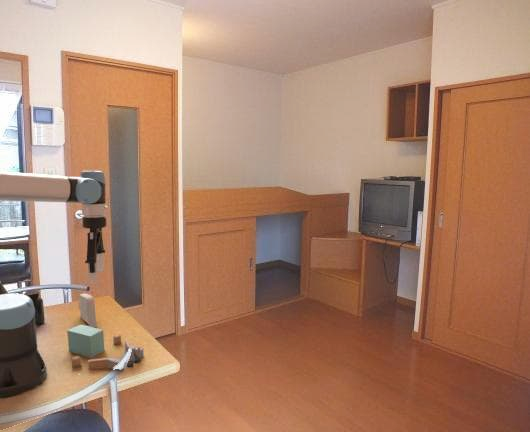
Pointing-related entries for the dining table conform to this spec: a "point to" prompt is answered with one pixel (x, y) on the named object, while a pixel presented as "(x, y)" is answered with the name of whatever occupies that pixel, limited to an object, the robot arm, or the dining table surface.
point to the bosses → (136, 357)
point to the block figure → (104, 361)
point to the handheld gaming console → (87, 309)
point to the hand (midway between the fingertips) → (96, 276)
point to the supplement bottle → (37, 306)
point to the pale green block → (86, 340)
